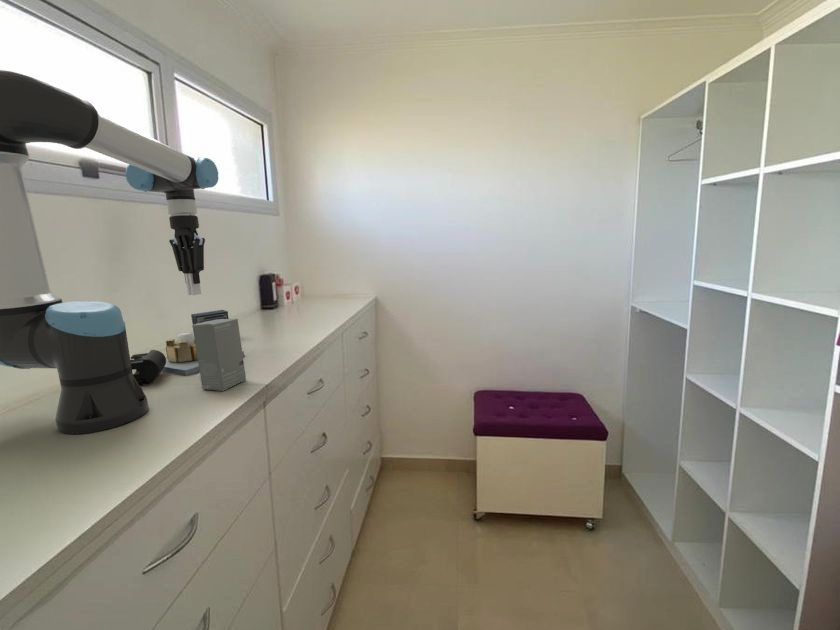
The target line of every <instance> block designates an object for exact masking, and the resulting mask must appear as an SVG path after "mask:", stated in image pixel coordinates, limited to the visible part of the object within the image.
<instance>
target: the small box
mask: <svg viewBox="0 0 840 630" xmlns="http://www.w3.org/2000/svg"><path fill="white" fill-rule="evenodd" d="M228 311H229V310H228ZM228 311H227V310H225V309H220V310H218V309H217V310H213V311H212V310H211V311H205V312H198V313H191V315H190V316H191V320H192V321H191V322H192V325H193V324H198V323H202V322H206V321H212V320H217V319H230V317H229V312H228Z"/></svg>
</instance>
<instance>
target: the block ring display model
mask: <svg viewBox="0 0 840 630" xmlns="http://www.w3.org/2000/svg"><path fill="white" fill-rule="evenodd" d="M180 341H188V345H192V344H195V343H194V332H182V333H179V334H177V342H178V343H179V342H180ZM242 354H243V357H245V351H243V350H242ZM165 357H166V364H165V366H164V368H163V369H162V371H161V372H160V373H167V374H173V375H179V376H187V377H188V376H190V375H193V374H196V373H200V370H199V364H198V359H197V360H192V361H184V362H171V361H168V358H167V356H165Z"/></svg>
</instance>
